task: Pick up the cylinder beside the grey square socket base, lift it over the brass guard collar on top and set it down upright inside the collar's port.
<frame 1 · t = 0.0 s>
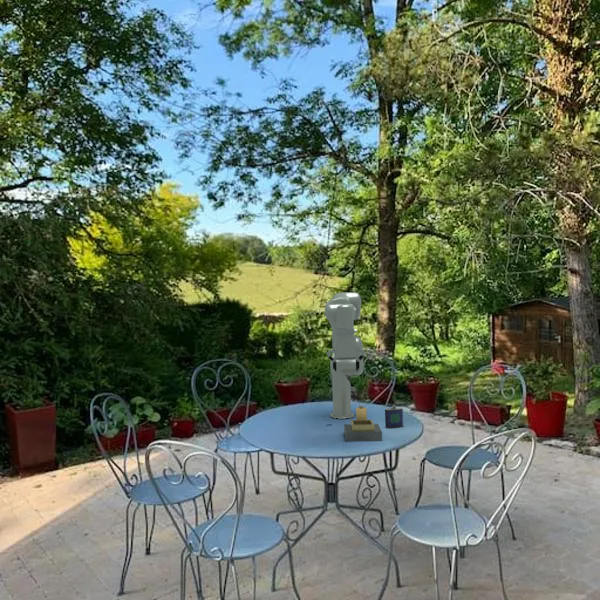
hand: (346, 370, 238), 31 cm above the table, tool pointing down, fingers open, 9 cm apart
cylinder: (361, 428, 257), on the table
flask: (394, 427, 258), on the table
grey square socket base: (362, 436, 243), on the table
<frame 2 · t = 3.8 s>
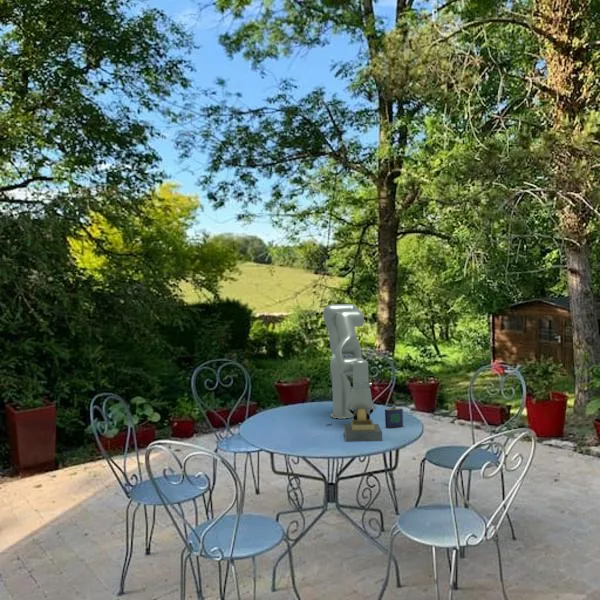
hand: (361, 422, 257), 3 cm above the table, tool pointing down, fingers closed on cylinder, 5 cm apart
cylinder: (361, 428, 257), on the table, touching gripper
everything else where it was.
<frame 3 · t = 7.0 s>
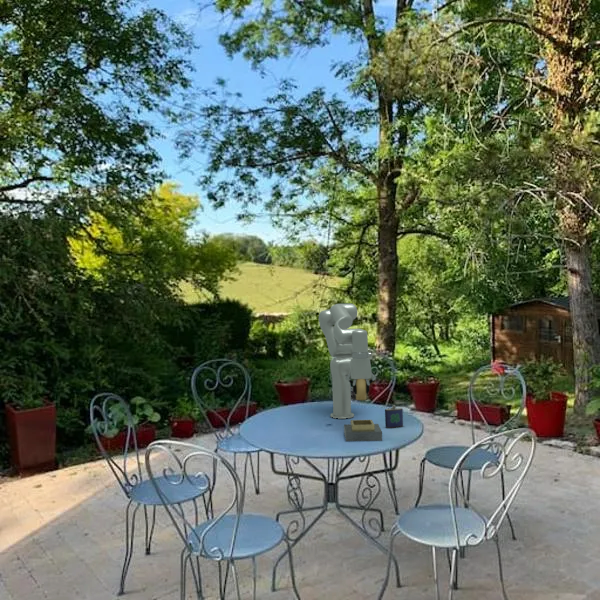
hand: (361, 393, 255), 18 cm above the table, tool pointing down, fingers closed on cylinder, 5 cm apart
cylinder: (361, 399, 255), point 15 cm above the table, touching gripper
everything else where it was.
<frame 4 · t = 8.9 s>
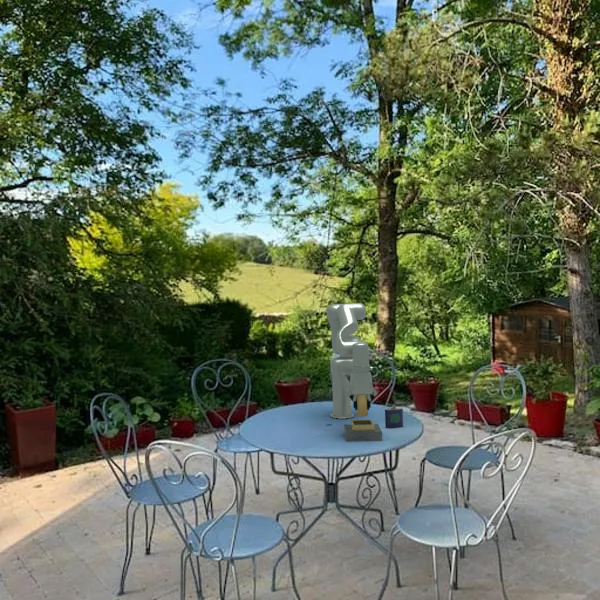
hand: (362, 409, 242), 13 cm above the table, tool pointing down, fingers closed on cylinder, 5 cm apart
cylinder: (362, 415, 242), point 10 cm above the table, touching gripper
everything else where it was.
when the fingers open (8 cm above the table, at t = 10.4 s): cylinder drops 1 cm, resting on grey square socket base.
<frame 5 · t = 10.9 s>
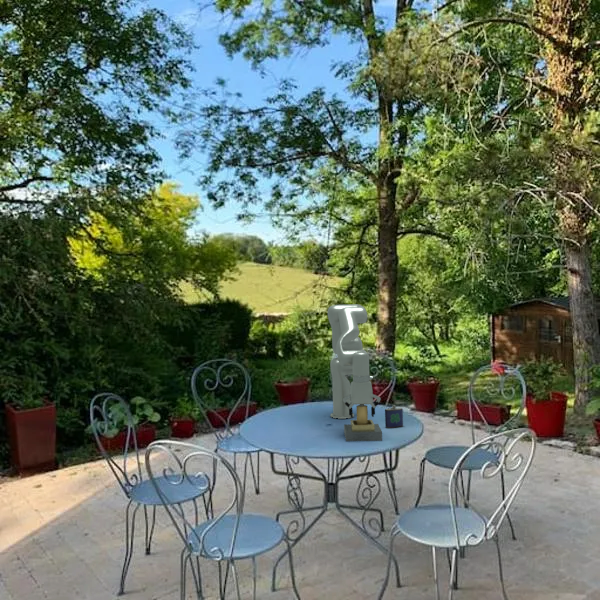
hand: (362, 416, 243), 9 cm above the table, tool pointing down, fingers open, 9 cm apart
cylinder: (362, 427, 243), point 4 cm above the table, touching grey square socket base
everything else where it was.
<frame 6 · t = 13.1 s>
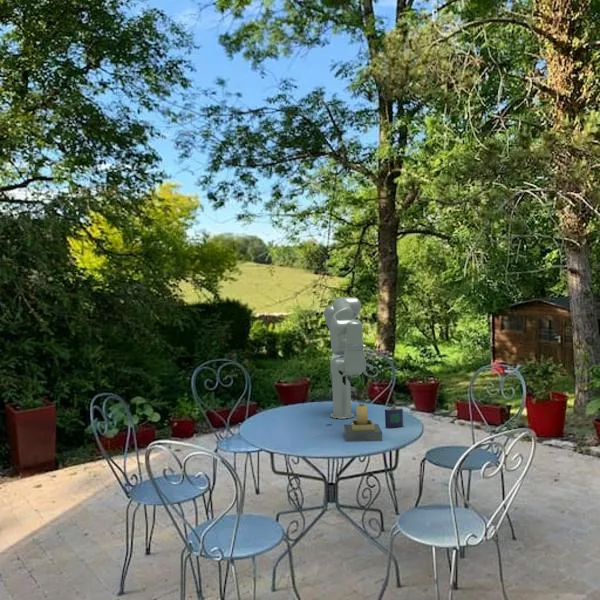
hand: (355, 384, 248), 23 cm above the table, tool pointing down, fingers open, 9 cm apart
nothing on the table moved.
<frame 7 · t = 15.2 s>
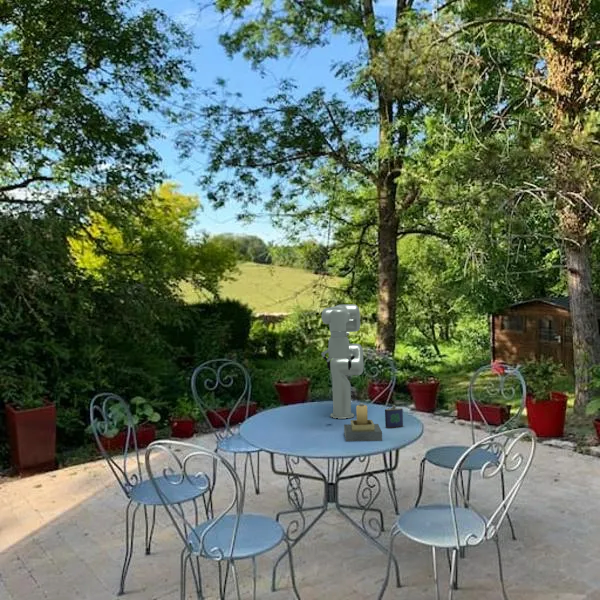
hand: (339, 369, 261), 28 cm above the table, tool pointing down, fingers open, 9 cm apart
nothing on the table moved.
at the end: cylinder 0.1 cm off-centre on the grey square socket base, point 4.0 cm above the grey square socket base's base; cylinder tilted 1°; cylinder touching grey square socket base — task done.
